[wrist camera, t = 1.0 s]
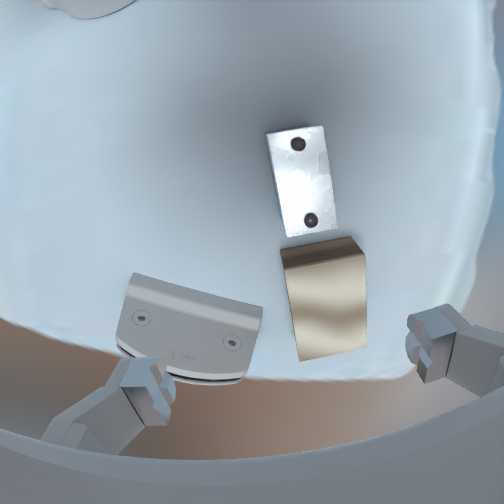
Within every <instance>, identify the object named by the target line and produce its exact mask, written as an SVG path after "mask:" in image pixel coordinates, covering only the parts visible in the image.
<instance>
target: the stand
mask: <svg viewBox="0 0 504 504" xmlns="http://www.w3.org/2000/svg"><path fill="white" fill-rule="evenodd" d="M280 252H281V258H282V264H283V269H284V275H285V280H286V286H287V292H288V298H289V304H290V310H291V315H292V321H293V328H294V334H295V339H296V345H297V350H298V356H299V362H300V361H305V360H311V359H316V358H321V357H326V356H330V355H335V354H340V353H344V352H349V351H353V350H357V349H361V348H365V347H366V336H367V296H366V264H365V254H364V253H363V251H362V250H361V249H360V248H359V246H358V245H357V244H356V243H355V241H354V240H353V239H352V238H351V237H346V238H340V239H335V240H330V241H324V242H319V243H314V244H308V245H303V246H298V247H292V248H287V249H282V250H280Z"/></svg>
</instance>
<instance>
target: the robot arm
mask: <svg viewBox="0 0 504 504" xmlns="http://www.w3.org/2000/svg"><path fill="white" fill-rule="evenodd" d="M133 1H134V0H41V4H42V5H43V6H44V7H46V8H48V9H61V10H63V11H64V12H65V13H67V14H68V15H70V16H72V17H75V18H79V19H92V18H98V17H102V16H105V15H108V14H111V13H113V12H115V11H117V10H119V9H121V8H123V7H125V6H127V5H128V4H130V3H131V2H133ZM407 327H408V328H409V329H410V332H409V333H408V335H407V336H406V344H405V345H406V352H407V355H408V358H409V360H410V361H411V363H413V364H415V365H417V373H418V374H419V376H420V378H421V379H422V381H423V382H424V383H428V382H432V381H434V380H438V379H441V378H444V377H446V378H448V379H449V380H451V381H453V382H454V383H456V384H458V385H460V386H462V387H463V388H465V389H467V390H469V391H470V392H472V393H474V394H476V395H477V396H479V397H480V398H478V399H476V400H474V401H472V402H469V403H467V404H465V405H463V406H460V407H458V408H456V409H453V410H451V411H449V412H446V413H444V414H441V415H439V416H436V417H433V418H431V419H428V420H425V421H423V422H420V423H417V424H414V425H411V426H408V427H405V428H402V429H399V430H395V431H392V432H389V433H385V434H382V435H379V436H375V437H371V438H367V439H363V440H359V441H355V442H351V443H347V444H342V445H338V446H333V447H328V448H323V449H317V450H311V451H305V452H299V453H292V454H285V455H278V456H268V457H259V458H245V459H228V460H165V459H150V458H138V457H128V456H119V455H117V454H118V453H119V452H120V451H121V450H122V449H123V448H124V447H125V446H126V445H127V444H128V443H129V442H130V441H131V440H132V439H133V438H134V437H135V436H136V435H137V434H138V433H139V432H140V431H141V430H142V429H143V428H144V427H145V426H144V425H167V424H168V421H169V417H170V414H171V410H170V408H169V406H170V405H171V404H172V403H173V402H174V400H175V395H176V387H175V383H174V380H173V378H172V376H171V375H170V374H169V373H167V372H166V368H167V364H166V362H165V360H164V358H162V357H161V356H159V357H135V358H123V359H120V361H119V362H118V364H117V366H116V368H115V369H114V371H113V373H112V375H111V376H110V378H109V380H108V382H107V384H106V385H105V387H100V388H99V389H97V390H96V391H94V392H93V393H91V394H90V395H88V396H87V397H86V398H84V399H83V400H81V401H79V402H78V403H76V404H75V405H73V406H72V407H70V408H69V409H67V410H66V411H64V412H62V413H61V414H60V415H58V416H56V417H55V418H53V420H52V421H51V423H50V425H49V426H48V428H47V430H46V431H45V433H44V435H43V436H42V438H41V440H36V439H33V438H29V437H26V436H23V435H19V434H16V433H13V432H10V431H7V430H3V429H1V428H0V504H504V333H501V332H497V331H494V330H490V329H487V328H484V327H480V326H477V325H474V326H471V325H470V324H469V323H468V322H467V321H466V320H465V319H464V318H463V317H462V316H461V315H460V314H459V313H458V312H457V311H456V310H455V309H454V308H453V307H452V306H451V305H450V304H447V303H446V304H443V305H440V306H437V307H434V308H432V309H429V310H425V311H422V312H418V313H415V314H411V315H409V317H408V319H407Z"/></svg>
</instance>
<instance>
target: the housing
mask: <svg viewBox="0 0 504 504" xmlns="http://www.w3.org/2000/svg"><path fill="white" fill-rule="evenodd" d="M264 134H265V138H266V143H267V148H268V153H269V158H270V163H271V168H272V173H273V179H274V184H275V189H276V194H277V200H278V205H279V210H280V216H281V220H282V223H283V227H284V230H285V234H286V237H293V236H298V235H303V234H309V233H314V232H320V231H325V230H330V229H336V228H337V219H336V211H335V203H334V195H333V188H332V181H331V174H330V167H329V161H328V154H327V148H326V142H325V136H324V131H323V126H306V127H299V128H293V129H287V130H281V131H275V132H269V133H264Z"/></svg>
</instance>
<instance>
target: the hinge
mask: <svg viewBox="0 0 504 504" xmlns="http://www.w3.org/2000/svg"><path fill="white" fill-rule="evenodd" d="M261 316H262V307H259V306H255V305H251V304H246V303H242V302H238V301H235V300H231V299H227V298H223V297H219V296H215V295H211V294H208V293H204V292H200V291H196V290H193V289H189V288H185V287H182V286H178V285H175V284H171V283H168V282H164V281H161V280H157V279H154V278H150V277H147V276H143V275H140V274H137V273H133V275H132V277H131V279H130V282H129V285H128V289H127V293H126V297H125V300H124V304H123V308H122V311H121V315H120V319H119V323H118V327H117V331H116V342H117V347H118V349H119V350H120V351H121V353H122V354H124V355H125V356H126V357H128V358H135V357H159V356H161V357H162V358H164V360H165V362H166V364H167V368H166V372H167V373H169V374H170V375H171V376H172V378H173V380H176V381H180V382H184V383H190V384H198V385H227V384H234V383H237V382H239V381H241V380H242V379H243V378H244V376H245V374H246V373H247V371H248V367H249V364H250V361H251V357H252V353H253V350H254V346H255V342H256V338H257V335H258V331H259V327H260V322H261Z"/></svg>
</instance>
